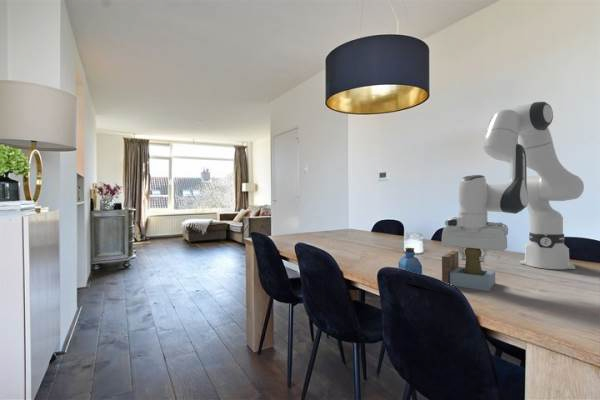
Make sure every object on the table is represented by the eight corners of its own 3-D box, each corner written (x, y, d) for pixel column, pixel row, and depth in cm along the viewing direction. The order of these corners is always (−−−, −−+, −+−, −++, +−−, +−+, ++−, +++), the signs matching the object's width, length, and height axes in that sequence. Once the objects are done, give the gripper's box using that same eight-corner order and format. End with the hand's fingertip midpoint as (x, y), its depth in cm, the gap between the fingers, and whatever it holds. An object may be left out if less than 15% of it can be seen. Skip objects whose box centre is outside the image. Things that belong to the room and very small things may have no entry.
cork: (485, 281, 110) (485, 249, 109) (466, 280, 111) (466, 248, 111) (479, 277, 115) (479, 246, 115) (461, 276, 117) (461, 246, 117)
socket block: (458, 278, 122) (458, 266, 122) (495, 283, 114) (495, 270, 114) (449, 285, 113) (449, 272, 112) (489, 291, 105) (488, 277, 105)
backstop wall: (452, 276, 124) (452, 250, 124) (458, 277, 123) (458, 251, 123) (442, 284, 113) (441, 256, 113) (448, 285, 112) (447, 257, 112)
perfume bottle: (398, 278, 122) (398, 247, 122) (414, 278, 123) (414, 246, 123) (405, 283, 116) (405, 250, 116) (422, 282, 117) (421, 249, 116)
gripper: (509, 222, 109) (509, 263, 109) (445, 219, 122) (445, 256, 122) (506, 223, 104) (506, 266, 104) (440, 221, 117) (440, 259, 117)
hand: (473, 260), depth 113 cm, fingers closed on cork, 4 cm apart
